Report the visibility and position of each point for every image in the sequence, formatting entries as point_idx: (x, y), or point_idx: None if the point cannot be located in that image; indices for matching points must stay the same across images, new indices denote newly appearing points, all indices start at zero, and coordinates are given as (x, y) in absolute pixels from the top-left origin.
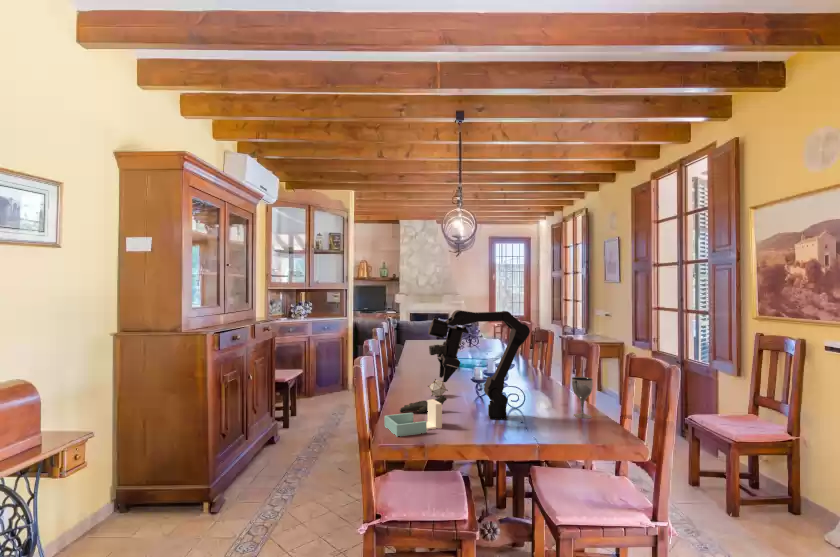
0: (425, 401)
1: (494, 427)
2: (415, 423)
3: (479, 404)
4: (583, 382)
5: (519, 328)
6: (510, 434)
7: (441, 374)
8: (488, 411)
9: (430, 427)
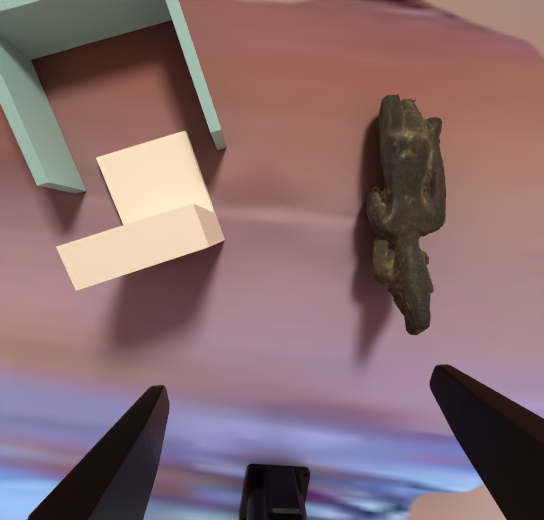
0: (426, 223)
1: None
2: (10, 123)
3: (462, 450)
4: None
5: None
6: None
7: (460, 406)
8: (281, 482)
9: (121, 215)
